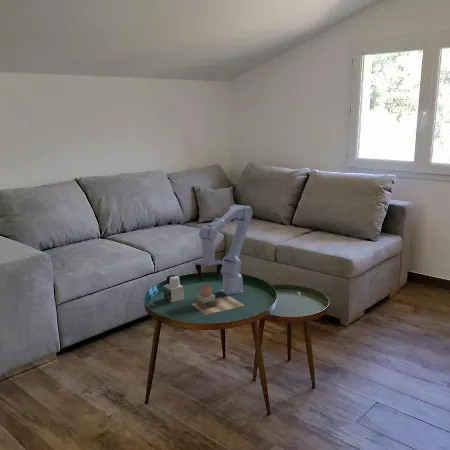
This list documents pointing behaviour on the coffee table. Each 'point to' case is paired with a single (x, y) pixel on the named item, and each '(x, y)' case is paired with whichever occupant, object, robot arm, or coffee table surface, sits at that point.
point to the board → (220, 305)
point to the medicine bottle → (173, 289)
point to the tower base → (206, 304)
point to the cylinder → (205, 290)
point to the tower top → (206, 298)
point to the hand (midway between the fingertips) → (209, 280)
